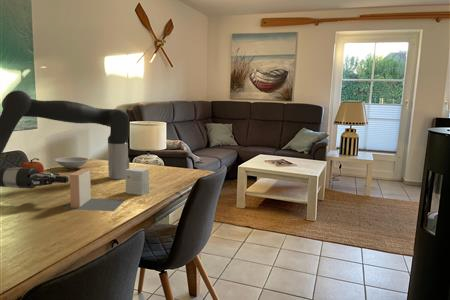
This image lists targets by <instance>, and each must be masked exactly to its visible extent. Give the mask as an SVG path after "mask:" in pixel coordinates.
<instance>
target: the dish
mask: <svg viewBox="0 0 450 300" xmlns="http://www.w3.org/2000/svg"><path fill="white" fill-rule="evenodd" d="M89 161H90V158H88V157H83V156H67V157H58V158H54V162H56V163H57V164H58V165H60V166H62V167H64V168H67V169H68V168H70V169H71V170H75V168H81V167H82V166H84V165H85V164H86V163H88V162H89Z"/></svg>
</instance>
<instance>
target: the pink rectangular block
mask: <svg viewBox="0 0 450 300" xmlns="http://www.w3.org/2000/svg"><path fill="white" fill-rule="evenodd" d="M91 187H92V184H91V168H81V169H79V170H77V171H75V172H73V173H70V174H69V190H70V191H69V193H70V203H71V208H80V207H81V206H83V205H84V204H86V203H87V202H88V201H90V200H91V198H92V190H91V189H92V188H91Z"/></svg>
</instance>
